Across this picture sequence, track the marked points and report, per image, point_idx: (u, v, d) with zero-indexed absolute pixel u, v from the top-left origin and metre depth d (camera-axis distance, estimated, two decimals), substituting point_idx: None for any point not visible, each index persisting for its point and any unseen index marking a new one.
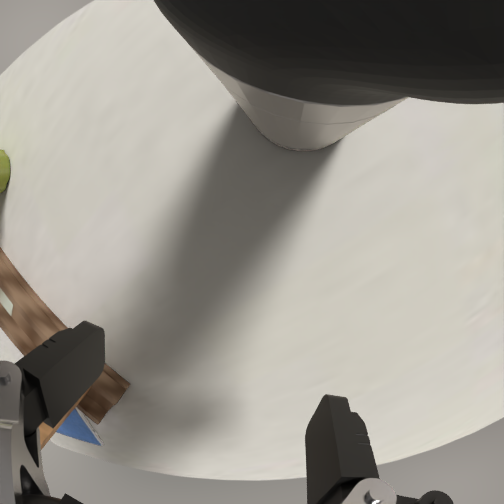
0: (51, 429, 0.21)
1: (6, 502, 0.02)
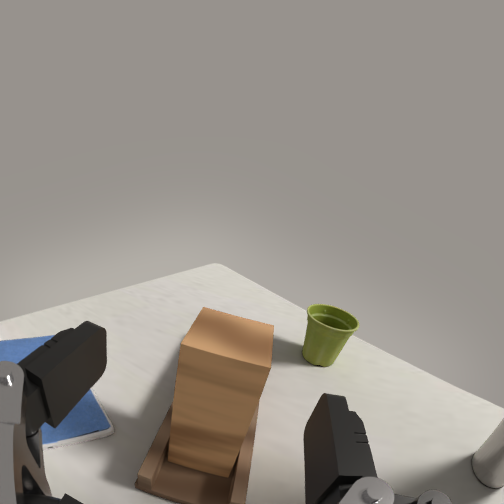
0: (256, 405, 0.19)
1: (7, 503, 0.02)
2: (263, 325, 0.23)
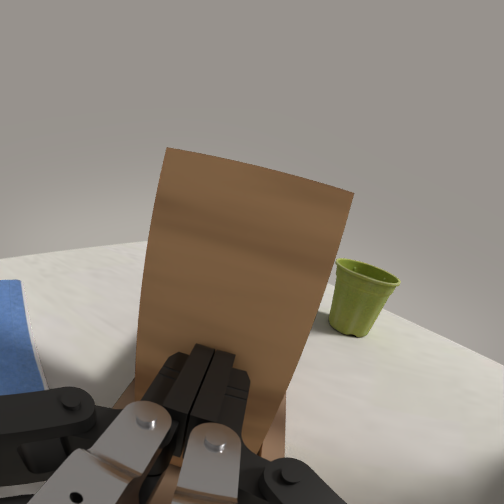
0: None
1: None
2: None
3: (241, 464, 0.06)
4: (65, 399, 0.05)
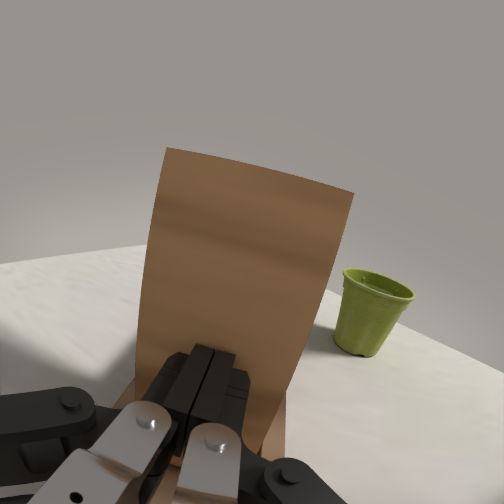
0: None
1: None
2: None
3: (241, 464, 0.06)
4: (65, 399, 0.05)
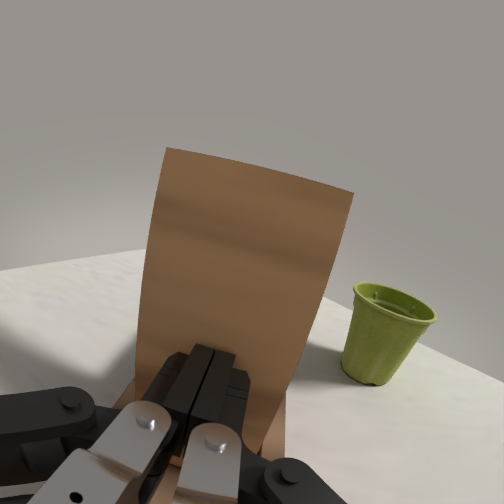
0: (318, 305, 0.09)
1: None
2: None
3: (241, 464, 0.06)
4: (65, 399, 0.05)
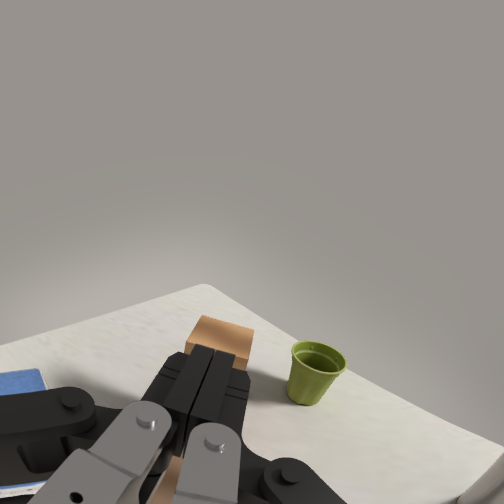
0: None
1: None
2: (246, 329, 0.31)
3: (241, 464, 0.06)
4: (65, 399, 0.05)
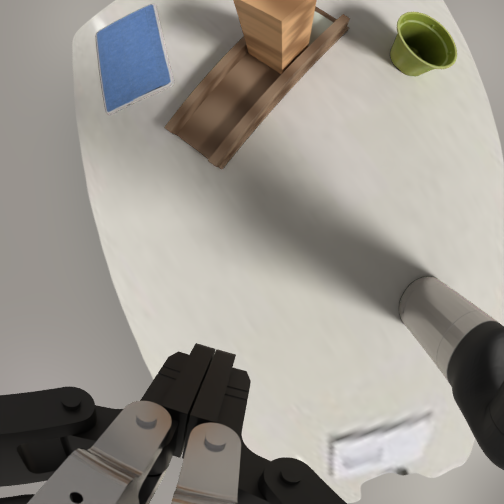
0: (282, 37, 0.24)
1: None
2: None
3: (241, 464, 0.06)
4: (65, 399, 0.05)
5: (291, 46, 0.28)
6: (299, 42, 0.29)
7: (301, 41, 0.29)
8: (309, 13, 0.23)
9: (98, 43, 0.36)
